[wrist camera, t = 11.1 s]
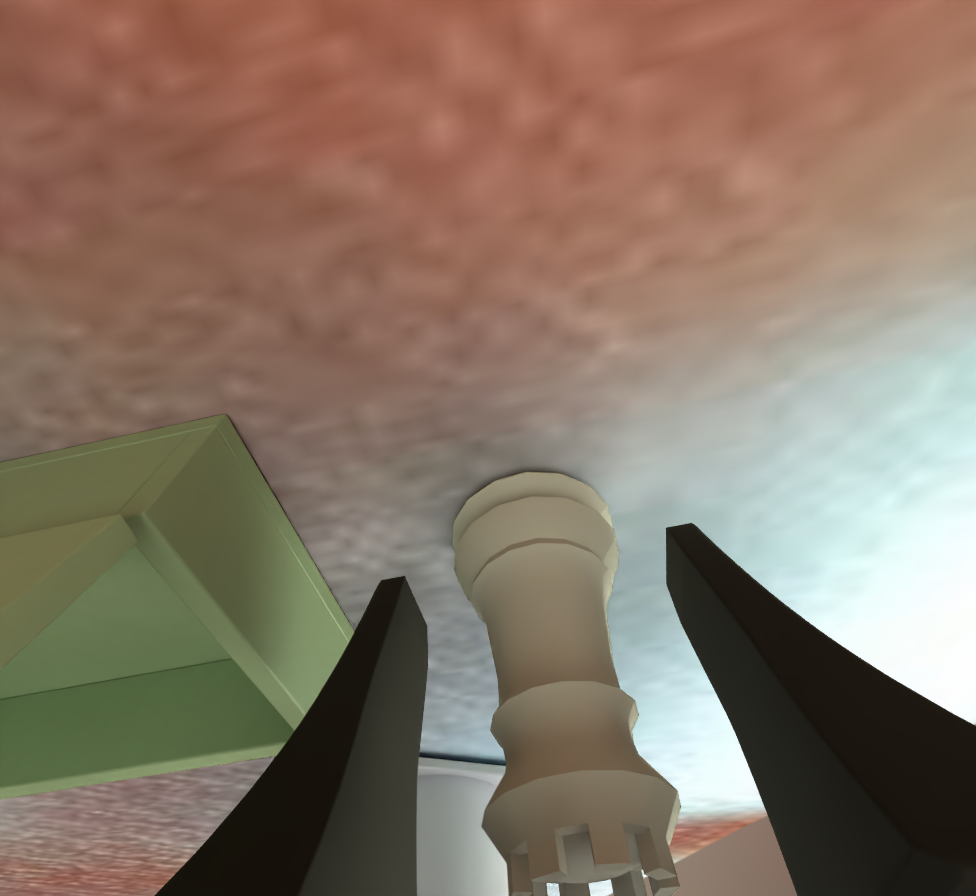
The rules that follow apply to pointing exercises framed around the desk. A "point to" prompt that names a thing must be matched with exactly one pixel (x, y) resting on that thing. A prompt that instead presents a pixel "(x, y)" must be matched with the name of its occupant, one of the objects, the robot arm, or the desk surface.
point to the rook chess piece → (561, 694)
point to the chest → (164, 615)
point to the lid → (53, 574)
